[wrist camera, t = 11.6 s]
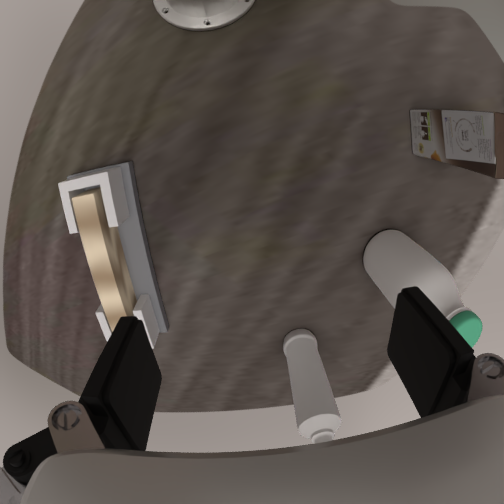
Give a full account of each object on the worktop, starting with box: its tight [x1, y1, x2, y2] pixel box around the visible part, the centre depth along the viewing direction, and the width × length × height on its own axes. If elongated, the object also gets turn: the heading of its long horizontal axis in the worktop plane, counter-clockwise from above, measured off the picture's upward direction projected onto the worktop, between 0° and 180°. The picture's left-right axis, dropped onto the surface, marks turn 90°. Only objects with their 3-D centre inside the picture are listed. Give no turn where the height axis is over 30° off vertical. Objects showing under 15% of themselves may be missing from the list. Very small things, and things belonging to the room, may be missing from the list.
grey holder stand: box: [58, 161, 169, 348], centre depth 37 cm, size 24×9×6 cm, turn 6°
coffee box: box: [410, 109, 504, 179], centre depth 27 cm, size 9×6×16 cm
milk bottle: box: [363, 230, 482, 347], centre depth 32 cm, size 8×8×20 cm
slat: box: [72, 187, 137, 332], centre depth 36 cm, size 20×3×4 cm, turn 6°
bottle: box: [283, 329, 342, 443], centre depth 34 cm, size 5×5×25 cm
